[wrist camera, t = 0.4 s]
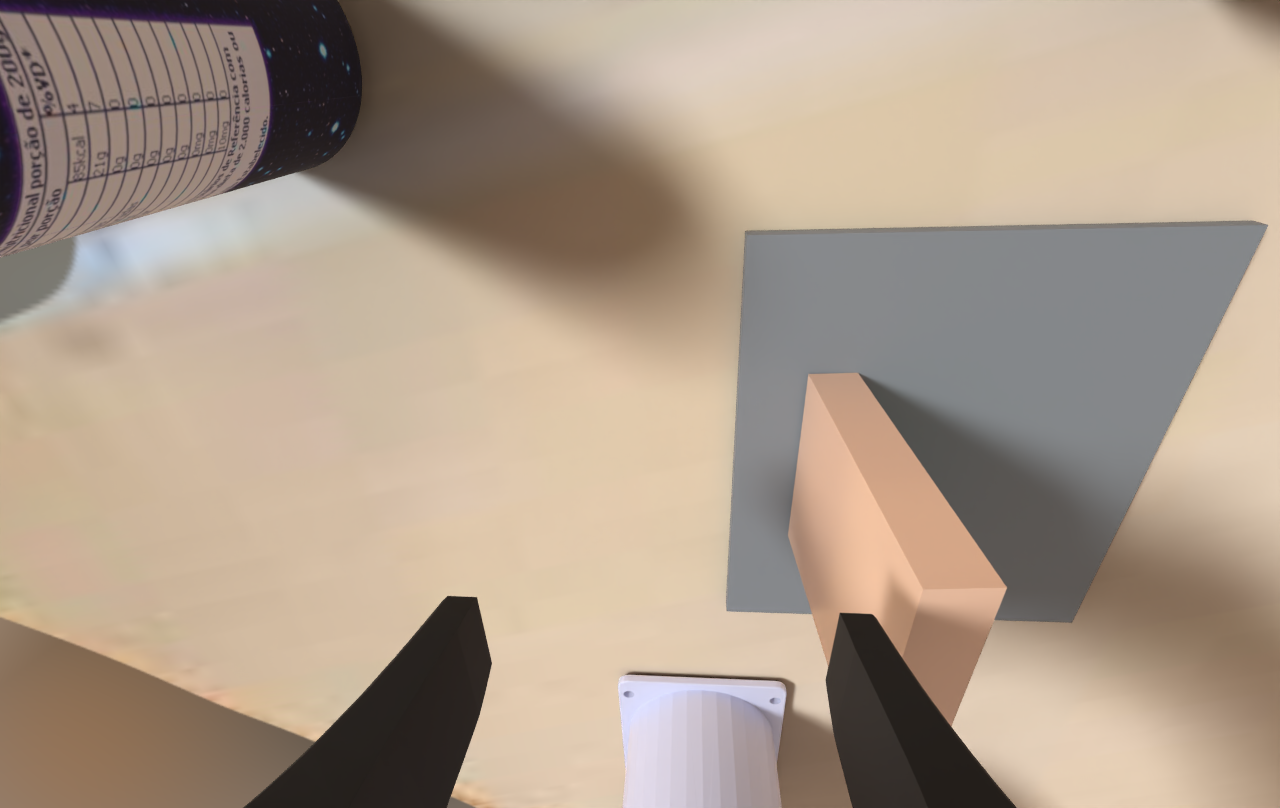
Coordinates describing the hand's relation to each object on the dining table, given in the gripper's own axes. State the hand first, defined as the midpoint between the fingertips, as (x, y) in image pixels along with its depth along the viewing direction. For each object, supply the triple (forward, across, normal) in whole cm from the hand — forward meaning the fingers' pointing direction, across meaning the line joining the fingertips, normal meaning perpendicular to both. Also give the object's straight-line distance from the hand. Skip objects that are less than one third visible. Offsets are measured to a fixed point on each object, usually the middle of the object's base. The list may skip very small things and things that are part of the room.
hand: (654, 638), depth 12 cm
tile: (+10, -5, +2) cm, 11 cm away
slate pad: (+10, -9, +2) cm, 14 cm away
